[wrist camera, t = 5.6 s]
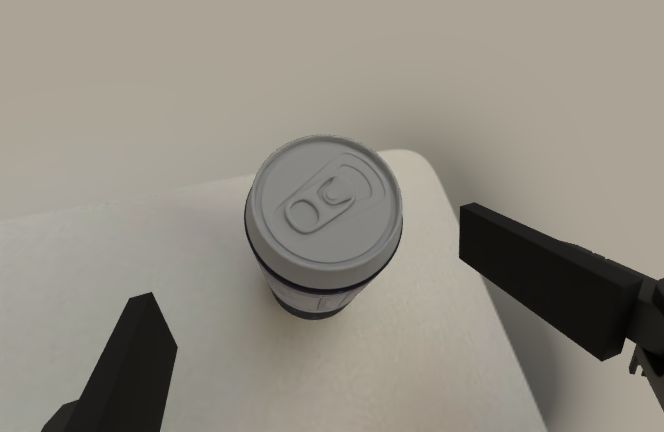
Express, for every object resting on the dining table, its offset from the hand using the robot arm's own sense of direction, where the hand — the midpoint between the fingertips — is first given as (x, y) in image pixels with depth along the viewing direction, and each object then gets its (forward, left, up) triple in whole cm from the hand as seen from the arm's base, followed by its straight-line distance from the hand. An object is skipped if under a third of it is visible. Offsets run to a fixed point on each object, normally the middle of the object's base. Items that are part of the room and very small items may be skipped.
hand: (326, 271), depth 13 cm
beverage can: (+1, -1, -8) cm, 8 cm away
